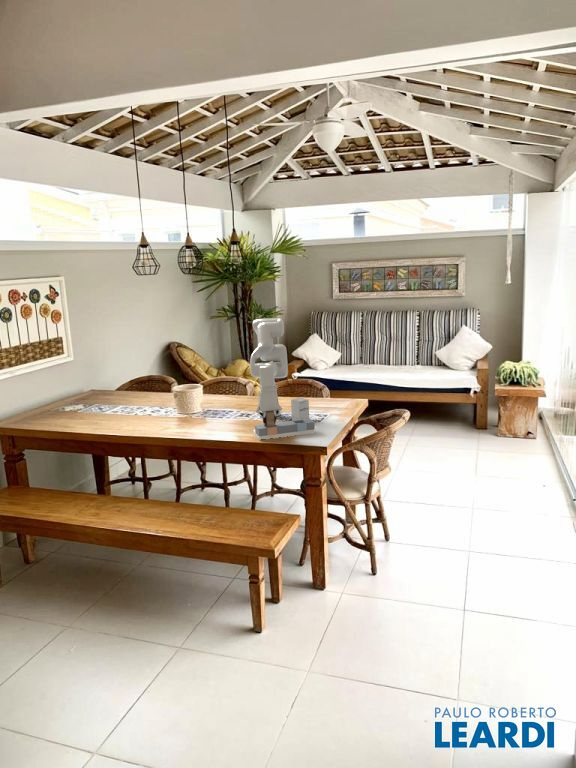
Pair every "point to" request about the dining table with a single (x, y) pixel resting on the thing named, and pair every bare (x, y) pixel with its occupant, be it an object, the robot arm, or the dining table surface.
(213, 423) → the dining table surface
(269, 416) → the walnut plug
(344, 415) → the dining table surface
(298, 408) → the supplement box
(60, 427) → the dining table surface
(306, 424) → the port board
